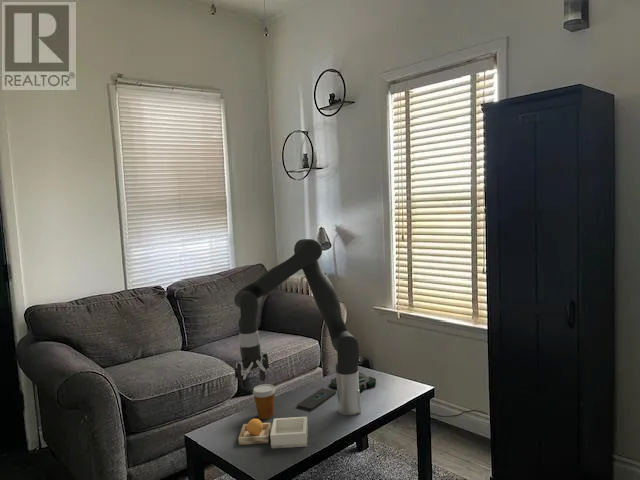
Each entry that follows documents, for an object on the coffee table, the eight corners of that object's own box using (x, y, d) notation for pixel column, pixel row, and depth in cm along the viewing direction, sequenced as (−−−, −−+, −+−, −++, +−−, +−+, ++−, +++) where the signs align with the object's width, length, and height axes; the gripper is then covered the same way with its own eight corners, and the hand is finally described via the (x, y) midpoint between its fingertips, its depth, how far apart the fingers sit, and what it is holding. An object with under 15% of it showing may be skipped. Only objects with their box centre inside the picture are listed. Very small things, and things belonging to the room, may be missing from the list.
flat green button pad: (354, 375, 241) (353, 366, 240) (380, 384, 227) (380, 375, 226) (326, 386, 230) (326, 377, 229) (352, 397, 216) (352, 387, 215)
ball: (264, 430, 188) (263, 415, 187) (262, 437, 182) (261, 422, 181) (249, 431, 188) (247, 416, 187) (246, 439, 182) (245, 423, 181)
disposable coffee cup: (273, 421, 196) (271, 393, 195) (251, 420, 198) (249, 392, 197) (280, 410, 206) (278, 383, 204) (258, 410, 208) (256, 383, 206)
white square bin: (307, 428, 188) (307, 416, 188) (306, 446, 175) (306, 433, 175) (274, 430, 188) (273, 418, 188) (271, 448, 175) (270, 435, 175)
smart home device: (336, 390, 220) (311, 408, 203) (337, 394, 220) (312, 412, 203) (321, 387, 224) (296, 404, 208) (321, 391, 225) (296, 408, 208)
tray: (271, 428, 190) (270, 422, 190) (268, 442, 179) (267, 436, 179) (243, 430, 191) (243, 424, 190) (238, 444, 180) (238, 438, 179)
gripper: (258, 336, 190) (262, 376, 191) (228, 346, 180) (232, 388, 181) (270, 339, 184) (274, 380, 186) (240, 350, 174) (244, 393, 176)
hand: (253, 384), depth 184 cm, fingers open, 8 cm apart
